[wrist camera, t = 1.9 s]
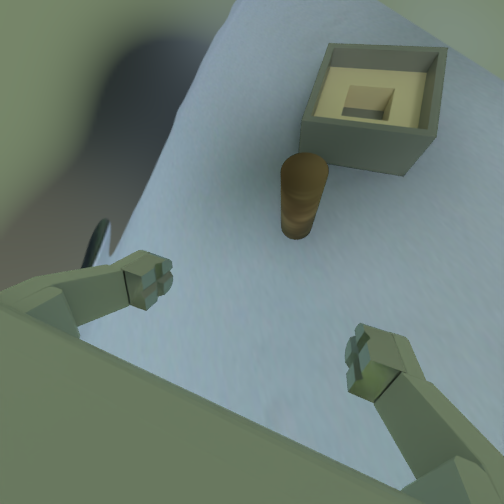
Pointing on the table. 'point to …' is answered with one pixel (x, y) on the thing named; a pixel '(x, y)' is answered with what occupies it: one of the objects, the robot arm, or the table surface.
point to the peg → (301, 192)
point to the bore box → (374, 106)
